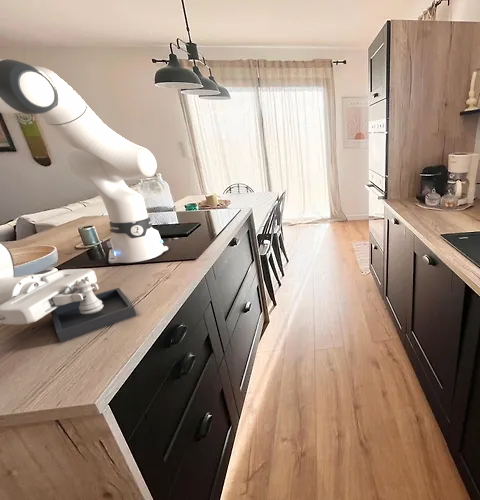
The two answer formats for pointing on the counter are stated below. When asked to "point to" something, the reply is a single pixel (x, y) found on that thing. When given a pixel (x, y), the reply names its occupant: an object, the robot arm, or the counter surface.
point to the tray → (91, 315)
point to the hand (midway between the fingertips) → (90, 291)
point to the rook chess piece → (88, 297)
